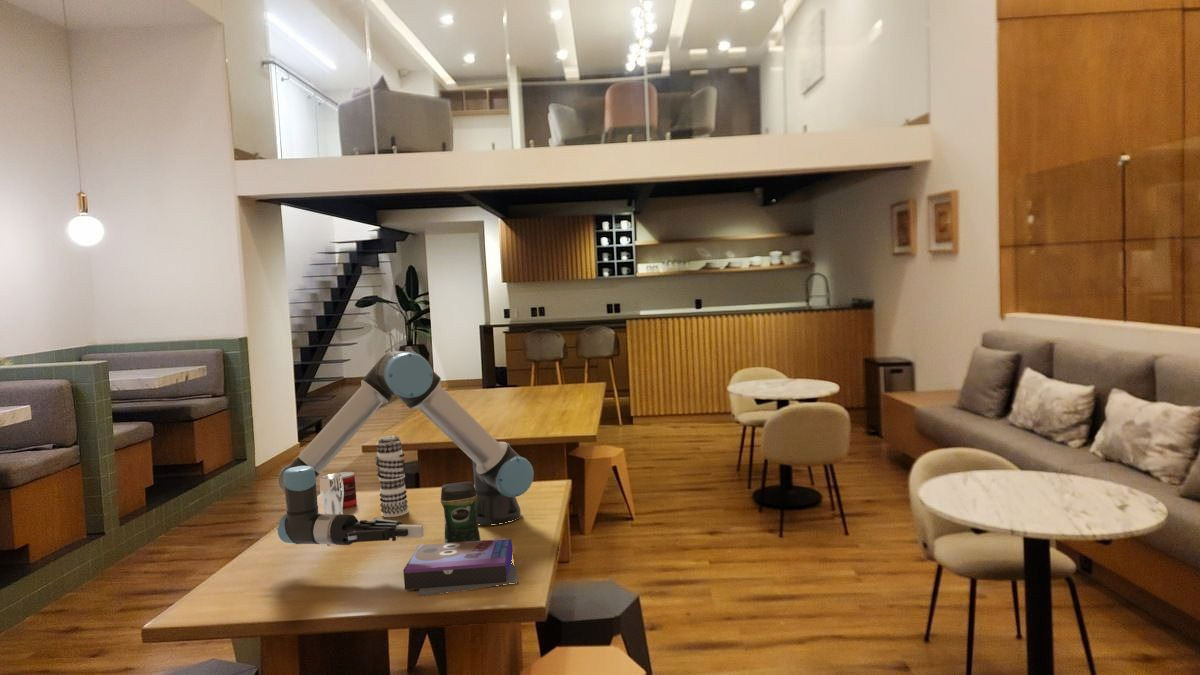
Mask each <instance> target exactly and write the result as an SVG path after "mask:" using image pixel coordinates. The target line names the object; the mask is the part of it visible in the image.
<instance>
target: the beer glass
mask: <svg viewBox="0 0 1200 675" xmlns="http://www.w3.org/2000/svg"><path fill="white" fill-rule="evenodd" d="M319 492H320V499H321V502H322V506H323V509H324V514H344V511H343V510H344V509H343V498H344V487H343V480H342V475H341V474H336V473H332V474H331V473H330V474H326V475H322V476H321V477H319Z"/></svg>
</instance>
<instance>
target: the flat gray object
mask: <svg viewBox="0 0 1200 675" xmlns="http://www.w3.org/2000/svg"><path fill="white" fill-rule="evenodd" d="M515 562H516V561H515ZM515 562H514V563H515ZM511 563H512V561H511ZM515 564H516V563H515ZM516 582H518V583H519V578H518V573H517V567H516V565H515V566H514V565H513V563H512V564H510V568H509V572H508V577H507V581H506V582H501V583H488V584H474V585H461V586H448V587H435V588H421V589H418V593H417V594H418V597H419V596H421V597H427V596H426V595H429V596H434V595H433V594H437V595H441V594H440V593H444V594H447V593H446V592H452V593H455V592H454V591H460V592H463V591H462V590H467V591H472V590H471V589H475V590H480V589H479V588H483V589H485V588H484V587H490V588H492V587H491V586H496V585H503V584H509V583H516Z"/></svg>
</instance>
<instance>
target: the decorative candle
mask: <svg viewBox="0 0 1200 675" xmlns="http://www.w3.org/2000/svg"><path fill="white" fill-rule="evenodd" d="M402 441H403V440H402V439H400V437H399V436H397V435H386V436H383V437H380V438H379V439H378V441H377V442H376V443H375V444H376V448H377V449H376V450H377V452H376V454H377V455H376V457H375V461H376V463H375V465H376V466H377V468H376V472H377V476H378V481H379V483H380V487H379V490H380V491H379V492H380V493H379V497H380V498H379V501H380V502H381V503H380V505H379V506H380V507H381V508H380V512H381V517H383V516H384V517H383V518H395V517H400V516H404V515H406V514H408V512H409V510H408V509H409V508H408V499H407V498H408V495H407V490H406V484H405V477H406V474H405V473H406V471H405V470H404V468H405V467H406V464H404V463H405V461H406V460H405V459H403V457H405V455H406V454H405V453H403V449H402Z"/></svg>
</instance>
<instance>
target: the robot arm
mask: <svg viewBox="0 0 1200 675" xmlns="http://www.w3.org/2000/svg"><path fill="white" fill-rule="evenodd" d="M360 382H361V384H360V385H361V386H360V387H359V388H358V389H357V390H356V391H355V393H354V394H352V396H351V397H350V398H349V399H348V400H347V401H346V402H345V404H343V406H342V407H341V408H340V409H339V410H338V412H336V414H335V415H334V416H333V417H331V419H330V420H329V421H328V422H327V423H326V424H325V426H324V427H322V429H321V430H320V431H319V432H318V433H317V435H316V436H315V437H314V438H313V439H312V440H311V441H310V442H309V443H308V445H306V447H305V448H304V449H303V450H302V451H301V452H300V454H298V455H297V457H296V458H295V459H294V460H293V461H292V462H291V463H290V464H287V465H286V466H284V467H283V468H282V469H281V471H280V473H279V475H278V484H279V485H278V486H280V488H281V490H282V492H283V494H284V497H285V504H286V513H285V514H284V515H283V516H281V518H279V522H278V526H277V535H278V538H279V539H280V540H281V541H282V542H283V543H287V544H295V545H326V546H327V547H331V546H332V545H333V546H334V545H337V546H350V545H352V544H355V543H364V542H366V543H368V542H382V541H390V539H391V540H392V542H395V541H396V540H397V538H410V539H413V538H417V539H418V538H419V539H421V538H423V537H425V535H424V533H425V532H424V525H423V524H403V521H401V520H393V519H392V520H391V519H386V518H385V519H384V518H379V517H374V518H373V520H370V521H369V520H367V519H362V520H361V519H360V520H358V518H357V517H356V516H355V515H354V514H351V513H350V514H349V513H348V514H347V513H346V514H344V513H343V514H325V513H320V512H319V505H318V493H317V492H318V491H317V490H318V489H317V478H318V477H319V476H320V474H322V472H323V471H324V470H325V468H326V467H327V466H328V465H329V464H330V463H331V462H332V461H333V460H334V458H335V457H337V455H338V454H339V452H341V451H342V449H343V448H344V447H345V446H346V445H347V444H348V443H349V442H350V440H352V438H353V437H354V436H355V435H356V434H357V432H358V431H359V430H360V429H361V428H362V427H363V426H364V425H365V424H366V422H368V421H369V419H370V418H371V417H372V416H373V414H375V412H377V410H378V409H379V408H380V407H381V406H382V405H383V404H388V403H389V402H390V401H391V400H392V399H393V398H394V397H395V396H396V397H397V399H399V400H400V401H401V402H402V403H404V405H405V406H406V407H408V408H409V409H411V410H412V409H417V410H419V411H420V412H421V413H422V414H423V415H424V416H425V417H426V418H428V419H429V420H430V421H431V422H432V424H434V425H435V426H436V427H437V428H438V429H439V431H441V432H442V433H443V434H444V435H445V436H446V437H448V439H450V440H451V442H452V443H454V444H455V445H456V446H457V447H458V449H460V450H461V451H462V452H463V453H464V454H466V456H467V457H468V458H470V460H471V461H472V469H473V470H472V472H473V484H474V487H475V491H476V496H477V498H476V502H475V512H476V519H477V524H480V525H479V526H482V525H491V524H499V523H505V522H508V521H512V520H515V519H517V518H519V517H520V515H521V507H520V505H519V501H518V500H517V497H520V496H523V495H525V493H526V492H527V491H528V490H529V489H530V487H531V486H532V484H533V481H534V468H533V465H532V464H531V462H530V461H529V460H528V459H527V458H526V457H523V456H520V454H518V453H517V452H516V451H515V450H514V449H513V448H512V447H511V445H510V443H509V442H506V441H497V439H495V437H493V436H492V435H491V434H490V433H489V432H488V431H487V430H486V429H485V428H484V427H483V426H482V425H481V424H480V423H479V422H478V421H477V420H476V419H475V418H474V417H473V416H472V415H471V414H470V413H469V412H468V411H467V410H466V409H465V408H464V407H463V406H462V405H461V404H460V403H459V402H458V401H457V400H456V399H455V398H454V397H452V395H451V394H450V393H448V391H447V390H446V389H444V388H443V387H442V385H441V384H442V378H441V377H440V376H439V375H438V374H437V373H436V372H435V371H434V370H433V368H432V366H431V364H430V363H429V361H428V360H427V359H426V358H425V357H424V356H422V355H421V354H419V353H416V352H412V351H403V350H392V351H389V352H387V353H385V354H384V355H382V356H381V358H379V359H378V361H377V362H376V363H375V364H374V366H373V367H372V368H370V370H369V371H368V373H366V375H365V376H364V377H363V378H362V380H361V381H360ZM520 518H521V517H520ZM520 518H519V519H520ZM517 520H518V519H517Z"/></svg>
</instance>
